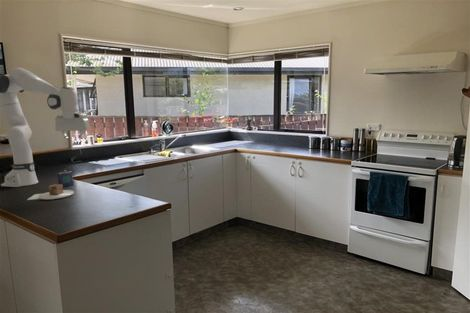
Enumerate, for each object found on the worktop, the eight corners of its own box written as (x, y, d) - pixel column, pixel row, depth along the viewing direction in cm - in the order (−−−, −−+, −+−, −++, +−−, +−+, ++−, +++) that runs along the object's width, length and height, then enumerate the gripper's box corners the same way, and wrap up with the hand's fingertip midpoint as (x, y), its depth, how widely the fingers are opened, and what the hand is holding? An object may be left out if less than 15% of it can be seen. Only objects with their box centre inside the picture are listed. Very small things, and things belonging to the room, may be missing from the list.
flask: (72, 184, 234) (70, 168, 232) (74, 185, 232) (72, 168, 230) (58, 187, 226) (56, 170, 225) (60, 188, 225) (58, 171, 223)
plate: (31, 200, 198) (31, 198, 198) (53, 191, 215) (53, 189, 215) (60, 200, 195) (60, 198, 194) (80, 192, 212) (80, 190, 212)
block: (49, 195, 203) (48, 186, 202) (55, 192, 208) (54, 184, 207) (57, 195, 202) (56, 186, 201) (63, 192, 207) (62, 184, 206)
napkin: (27, 200, 198) (26, 199, 198) (35, 194, 210) (35, 194, 210) (42, 198, 200) (42, 198, 200) (49, 193, 211) (49, 193, 211)
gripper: (51, 115, 211) (54, 139, 213) (83, 114, 207) (85, 138, 209) (58, 115, 217) (61, 138, 219) (89, 114, 213) (91, 137, 215)
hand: (73, 138), depth 214 cm, fingers open, 8 cm apart
